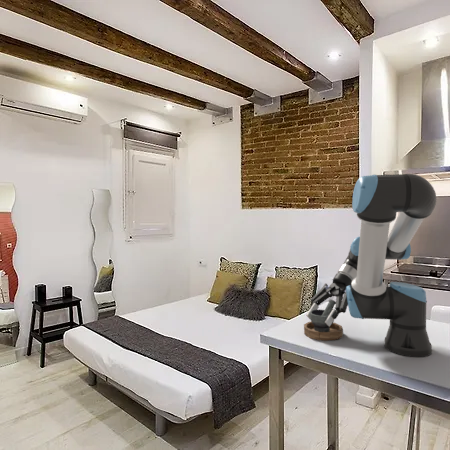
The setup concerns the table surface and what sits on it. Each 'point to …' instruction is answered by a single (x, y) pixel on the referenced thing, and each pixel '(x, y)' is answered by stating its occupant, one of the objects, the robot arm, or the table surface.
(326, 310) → the mortar and pestle
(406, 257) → the robot arm
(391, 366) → the table surface
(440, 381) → the table surface
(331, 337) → the round wooden tray
